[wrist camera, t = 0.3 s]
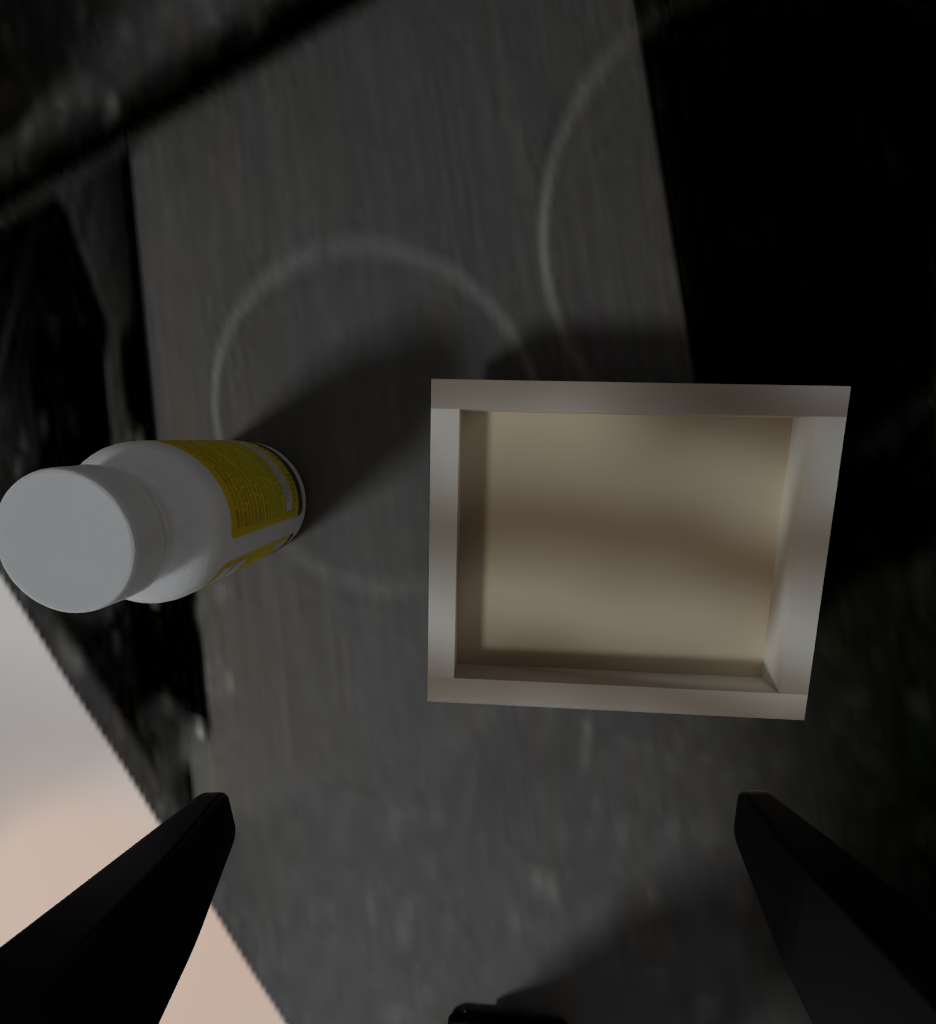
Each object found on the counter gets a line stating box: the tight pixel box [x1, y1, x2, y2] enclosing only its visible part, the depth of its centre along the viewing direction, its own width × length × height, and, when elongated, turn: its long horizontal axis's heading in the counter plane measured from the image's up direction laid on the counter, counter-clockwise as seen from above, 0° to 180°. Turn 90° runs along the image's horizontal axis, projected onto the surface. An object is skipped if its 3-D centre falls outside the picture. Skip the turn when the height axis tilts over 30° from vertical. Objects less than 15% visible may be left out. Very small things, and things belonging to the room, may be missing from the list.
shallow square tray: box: [428, 379, 851, 720], centre depth 19 cm, size 12×14×5 cm
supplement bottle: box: [0, 440, 306, 613], centre depth 17 cm, size 5×5×10 cm
